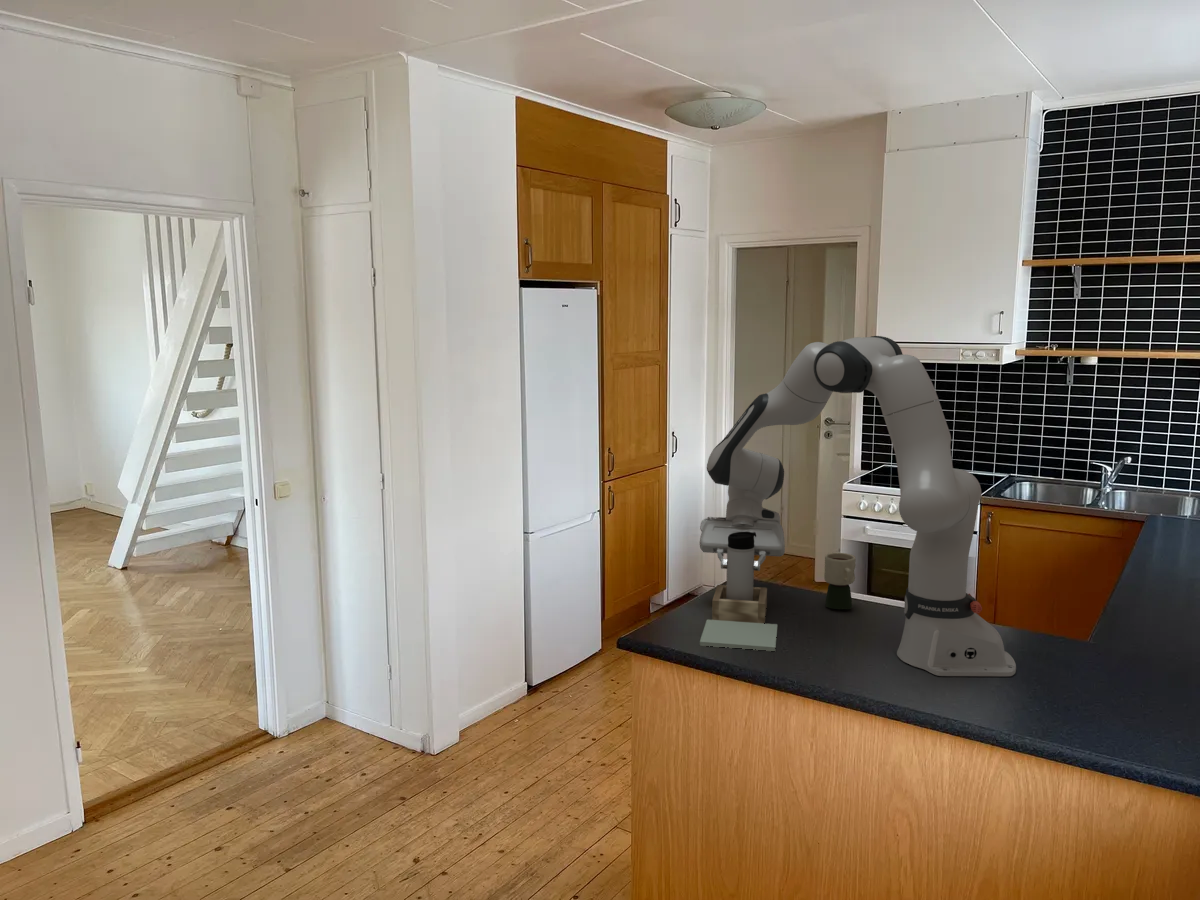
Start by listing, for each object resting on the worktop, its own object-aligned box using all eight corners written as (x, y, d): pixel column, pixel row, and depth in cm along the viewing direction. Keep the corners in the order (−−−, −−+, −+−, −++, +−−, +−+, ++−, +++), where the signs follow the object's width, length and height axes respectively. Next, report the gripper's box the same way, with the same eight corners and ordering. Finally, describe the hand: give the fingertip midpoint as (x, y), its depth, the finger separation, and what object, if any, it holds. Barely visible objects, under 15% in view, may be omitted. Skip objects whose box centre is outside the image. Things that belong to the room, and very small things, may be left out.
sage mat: (777, 628, 198) (777, 624, 198) (775, 651, 184) (775, 647, 184) (706, 623, 201) (706, 619, 201) (699, 646, 188) (699, 641, 188)
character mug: (862, 614, 206) (864, 561, 204) (834, 616, 205) (836, 563, 203) (842, 600, 217) (844, 549, 215) (815, 602, 216) (816, 551, 214)
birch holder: (766, 607, 212) (767, 587, 211) (764, 624, 200) (764, 603, 200) (717, 604, 215) (717, 584, 214) (712, 620, 203) (712, 600, 202)
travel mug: (753, 619, 204) (755, 536, 201) (725, 617, 205) (727, 535, 202) (754, 610, 210) (756, 529, 207) (726, 608, 211) (728, 528, 208)
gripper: (700, 510, 213) (695, 559, 205) (785, 513, 208) (783, 564, 200) (702, 523, 218) (697, 572, 210) (785, 527, 213) (783, 577, 205)
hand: (740, 568), depth 205 cm, fingers closed on travel mug, 6 cm apart
